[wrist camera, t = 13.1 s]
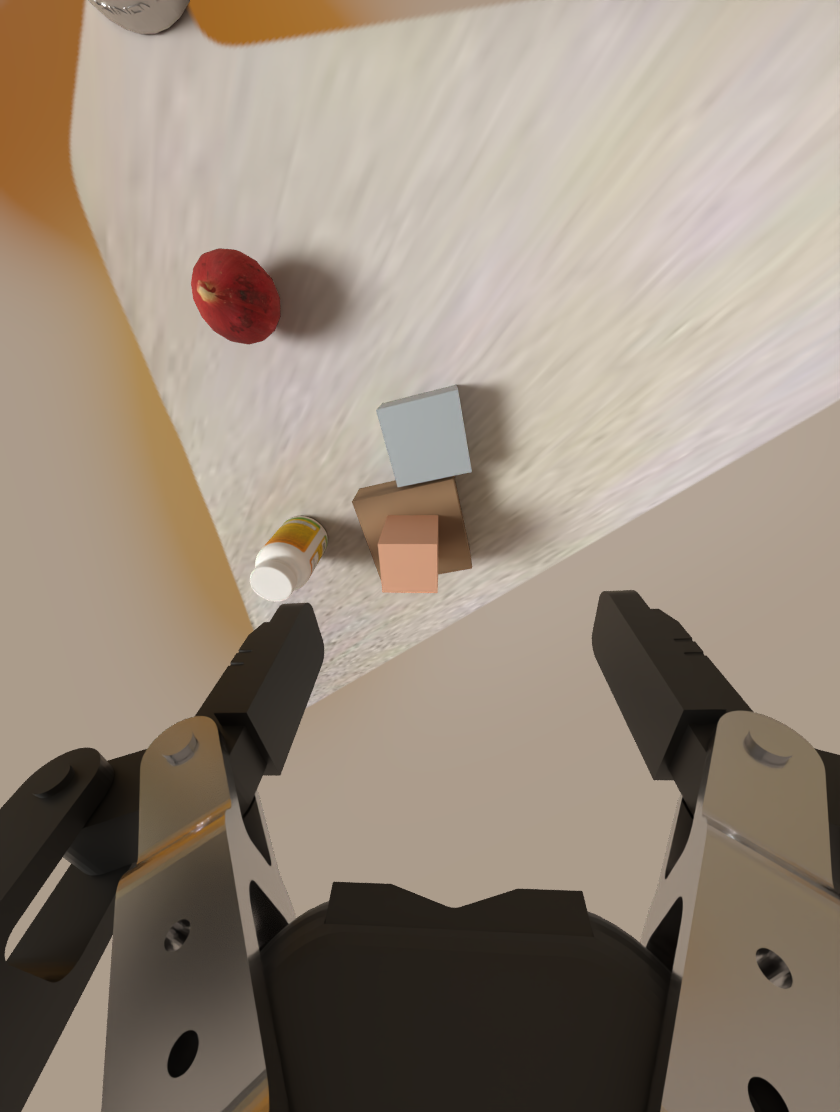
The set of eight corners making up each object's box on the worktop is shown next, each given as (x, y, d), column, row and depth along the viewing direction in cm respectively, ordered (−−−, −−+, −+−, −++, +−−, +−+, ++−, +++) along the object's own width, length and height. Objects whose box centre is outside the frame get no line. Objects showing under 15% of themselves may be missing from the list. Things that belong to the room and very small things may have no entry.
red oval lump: (292, 265, 29) (244, 242, 22) (295, 348, 32) (255, 350, 25) (219, 254, 29) (148, 227, 22) (229, 338, 32) (170, 337, 25)
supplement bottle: (272, 524, 41) (228, 571, 33) (312, 507, 40) (277, 552, 31) (298, 561, 43) (264, 614, 35) (337, 547, 42) (310, 598, 34)
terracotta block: (387, 515, 36) (377, 544, 30) (438, 515, 35) (437, 544, 30) (391, 558, 38) (382, 592, 33) (438, 559, 38) (437, 592, 33)
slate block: (382, 403, 34) (375, 410, 30) (456, 384, 33) (457, 389, 29) (401, 474, 37) (397, 487, 34) (469, 459, 36) (471, 471, 33)
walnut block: (360, 487, 38) (351, 501, 35) (452, 466, 37) (453, 479, 33) (387, 564, 43) (382, 584, 40) (469, 549, 42) (472, 568, 38)
